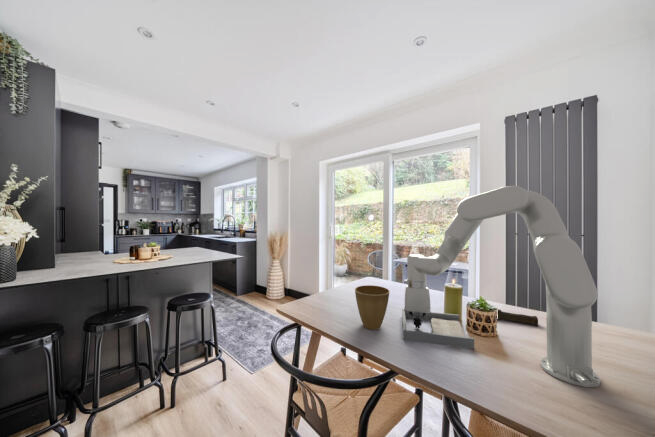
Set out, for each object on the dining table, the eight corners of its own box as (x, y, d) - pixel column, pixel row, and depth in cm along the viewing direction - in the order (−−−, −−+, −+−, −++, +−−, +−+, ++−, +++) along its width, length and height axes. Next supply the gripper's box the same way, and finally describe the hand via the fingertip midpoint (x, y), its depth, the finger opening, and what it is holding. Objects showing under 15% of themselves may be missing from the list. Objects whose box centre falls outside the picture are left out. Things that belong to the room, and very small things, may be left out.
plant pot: (388, 336, 94) (388, 296, 94) (351, 331, 99) (351, 293, 99) (391, 321, 108) (390, 286, 108) (358, 317, 113) (358, 283, 113)
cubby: (474, 349, 85) (474, 339, 85) (403, 339, 92) (403, 330, 92) (458, 322, 106) (458, 314, 106) (402, 316, 113) (402, 309, 113)
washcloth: (459, 325, 104) (459, 318, 104) (469, 347, 87) (469, 338, 87) (429, 322, 108) (429, 315, 108) (434, 341, 91) (434, 333, 91)
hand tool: (536, 324, 104) (536, 313, 104) (538, 327, 101) (538, 316, 101) (485, 315, 114) (485, 305, 114) (485, 318, 111) (485, 308, 111)
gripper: (398, 284, 99) (399, 328, 99) (437, 287, 95) (437, 333, 95) (398, 280, 106) (398, 321, 106) (434, 282, 102) (435, 325, 102)
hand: (417, 326), depth 101 cm, fingers closed
